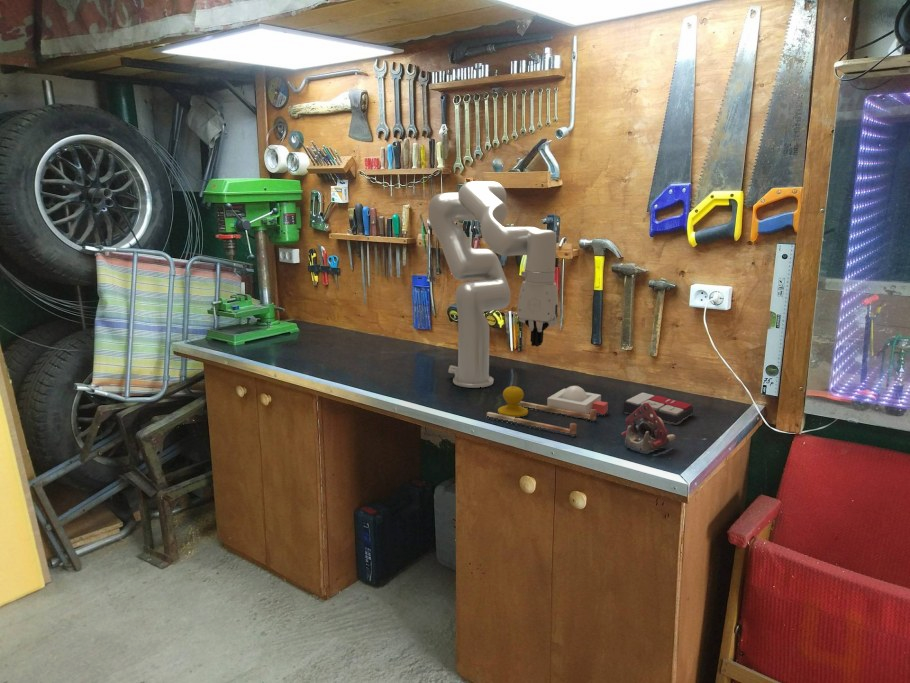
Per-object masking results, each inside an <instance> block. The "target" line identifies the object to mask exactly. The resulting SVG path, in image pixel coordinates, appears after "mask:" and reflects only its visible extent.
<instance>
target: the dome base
mask: <svg viewBox="0 0 910 683" xmlns="http://www.w3.org/2000/svg"><path fill="white" fill-rule="evenodd" d="M566 389H567V388H562V389H561V390H559V391H557V392H555V393H554V394H552V395H550V396H549V397H547V399H546V401H547V402H546V403H547V404H546V406H549V407H554V408H559V409H564V410H569V411H575V412H580V413H585V414H589V413H590V409H596V413H600V414H605V413H606V412H607V411H608V410H609V409H608V408H609V402H607V401H602V395H601V394H599V393H592V392H587V391H585V393H586V400H584V401H583V402H578V401H573V400H567V399H563V393H564V391H565V390H566ZM608 412H609V411H608ZM608 412H607V413H608Z"/></svg>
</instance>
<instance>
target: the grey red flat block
mask: <svg viewBox="0 0 910 683" xmlns="http://www.w3.org/2000/svg"><path fill="white" fill-rule="evenodd" d="M645 402H647V403H649V404H650V405H651V407H652V408H653V410H654V411H655V413H656V415H657V416H658V417H660V418H661V419H662V420H665V421H669V422H674V423H677V422H679V421H681V420H682V419H683V418H685V417H687V416H688V415H690V414H691V413H692V414H693V413H694V412H693V411H694V406H692V404H691V403H686V402H683V401H679V400H675V399H671V398H667V397H664V396H660V395H654V394H650V393H646V392H640V393H639V394H637V395H636V394H635V395H634V396H632V397H630V398H628V399H626V400H625V401H624V402H623V409H622V412H623V411H624V412H628V413H633V412H634V411H635V410H636V409H638V408H639V407H640V406H641V405H642V404H643V403H645ZM640 414H641V413H640Z"/></svg>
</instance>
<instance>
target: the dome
mask: <svg viewBox="0 0 910 683" xmlns="http://www.w3.org/2000/svg"><path fill="white" fill-rule="evenodd" d="M565 389H566V390H565V391H564V393H563V399H567V400H573V401H578V402H583V401H584V400H586V393H585V392H586V391H585V390H584V389H583V388H582V387H580V386H579V385H570V386H568V387H567V388H565Z"/></svg>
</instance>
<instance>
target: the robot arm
mask: <svg viewBox="0 0 910 683" xmlns="http://www.w3.org/2000/svg"><path fill="white" fill-rule="evenodd" d="M506 202H507V192H506V188H504V186H503V185H502V184H500V183H499V182H497V181H491V180H489V181H488V180H487V181H486V180H485V181H483V180H479V181H478V180H474V181H473V180H472V181H468V182H465V183H464V184H463V185H462V186H461V187H460V188H459V189H458V192H457V191H456V192H453V191H450V192H442V193H438V194H436V195H434V196H433V197H432V198H431V199H430V201H429V203H428V208H427V209H428V211H427V212H428V213H427V214H428V220H429V224H430V227H431V229H432V231H433V233H434V235H435V237H436V238H437V240H438V242H439V244H440V245H441V249H442V252H443V255H444V257H445V260H446V264H447V266H448V268H449V272H450V273H451V275H452V277H453V278H454V279H455V280H457V281H461V282H462V281H463V283H461V284H459V286H457V288H456V289H455V293H454V297H455V298H454V299H455V306H456V311H457V322H458V323H457V324H458V326H457V330H458V331H457V332H458V335H457V336H458V339H457V344H458V346H457V348H458V349H457V350H458V352H457V358H458V359H457V366H456V365H449V367H448V371H447V373H450V374H454V377H453V379H452V383H453V384H454V385H456V386H458V387H462V388H470V389H471V388H472V389H479V388H480V387H481V388H485V387H486V388H487V387H491V386H492V385H493V384H494V382H495V380H494V377H492V376H490V374H489V373H490V330H491V329H490V323H489V321H488V320H487V318H486V316H485V314H484V312H490V311H499V310H503V309H505V308H507V307H508V306H509V304H510V302H511V297H512V294H511V289H510V284H509V283H508V280H507V277H506V274H505V272H504V270H503V267H502V263H501V261H500V259H499V257H498V256H497V254H498V255H500V256H502V257H510V256H526V258H525V259H526V260H525V270H524V271H521V273H520V276H521V277H523V278H524V281H522V282H521V286H520V288H519V294H518V295H519V296H518V303H517V317H518V321H519V322H521V323H523V324H525V325H526V327H528V329H529V331H530V342H531V347H534V346H535V347H540V346H541V345H542V344H543V342H544V331H546V329H547V328H549V327H550V328H551V327H555V326H557V325H558V315H559V293H558V288H557V287H558V286H557V283H556V282H555V277H556V276H555V275H556V273H555V270H556V255H557V252H556V251H557V237H558V236H557V233H556V232H555V231H553V230H551V229H541V228H538V227H535V226H507V227H505V226H503V225H502V224H503V223H504V222H505V220H506V218H507V215H508V207H507V204H506ZM476 220H477V222H479V223H480V234H481V237H482V240H483V241H484V243H485V244H486V245H487V246H488V247H489V248H490V249H489V248H474V247H472V245H471V244H470V240H469V238H468V236H467V234H466V232H465V231H464V230H463V229H462V228H461V227H460V226H459V224H456V222H455V221H476ZM464 281H465V282H464Z"/></svg>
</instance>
